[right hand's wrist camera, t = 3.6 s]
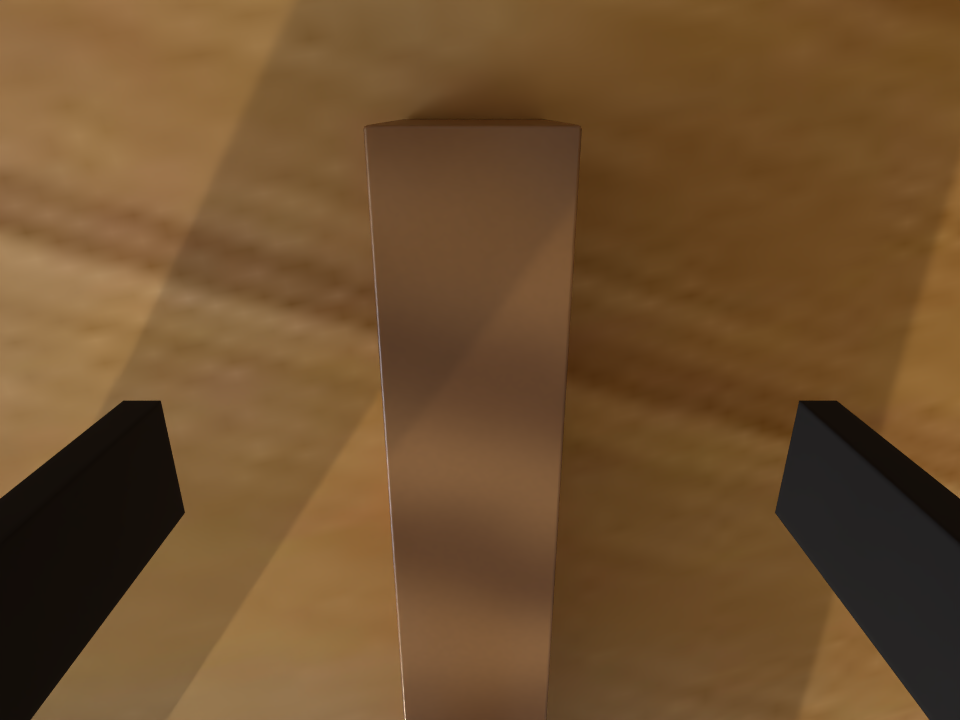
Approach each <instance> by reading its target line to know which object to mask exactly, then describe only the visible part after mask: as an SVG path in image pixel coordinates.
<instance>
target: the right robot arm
mask: <svg viewBox="0 0 960 720" xmlns="http://www.w3.org/2000/svg"><path fill="white" fill-rule="evenodd" d="M184 513H185V511H184V506H183V502H182V497H181V492H180V488H179V483H178V479H177V474H176V469H175V465H174V460H173V455H172V451H171V446H170V441H169V437H168V432H167V428H166V423H165V418H164V414H163V409H162V404H161V401H122V402H121V403H120V404H119V405H117V406H116V407H115V408H114V409H112V410H111V411H110V412H109V413H107V414H106V415H105V416H104V417H102V418H101V419H100V420H99V421H97V422H96V423H95V424H94V425H92V426H91V427H90V428H89V429H87V430H86V431H85V432H83V433H82V434H81V435H80V436H78V437H77V438H76V439H75V440H73V441H72V442H71V443H70V444H68V445H67V446H66V447H65V448H63V449H62V450H61V451H60V452H58V453H57V454H56V455H55V456H53V457H52V458H51V459H50V460H48V461H47V462H46V463H45V464H43V465H42V466H41V467H39V468H38V469H37V470H36V471H34V472H33V473H32V474H31V475H29V476H28V477H27V478H26V479H24V480H23V481H22V482H21V483H19V484H18V485H17V486H16V487H14V488H13V489H12V490H11V491H9V492H8V493H7V494H6V495H4V496H3V497H2V498H1V499H0V720H31V718H32V717H33V716H34V714H35V713H36V712H37V710H38V709H39V708H40V706H41V705H42V704H43V702H44V701H45V700H46V698H47V697H48V696H49V694H50V693H51V692H52V690H53V689H54V688H55V686H56V685H57V684H58V682H59V681H60V680H61V678H62V677H63V676H64V674H65V673H66V671H67V670H68V669H69V667H70V666H71V665H72V663H73V662H74V661H75V659H76V658H77V657H78V655H79V654H80V653H81V651H82V650H83V649H84V647H85V646H86V645H87V643H88V642H89V641H90V639H91V638H92V637H93V635H94V634H95V633H96V631H97V630H98V629H99V627H100V626H101V625H102V623H103V622H104V621H105V619H106V618H107V617H108V615H109V614H110V612H111V611H112V610H113V608H114V607H115V606H116V604H117V603H118V602H119V600H120V599H121V598H122V596H123V595H124V594H125V592H126V591H127V590H128V588H129V587H130V586H131V584H132V583H133V582H134V580H135V579H136V578H137V576H138V575H139V574H140V572H141V571H142V570H143V568H144V567H145V566H146V564H147V563H148V562H149V560H150V559H151V558H152V556H153V555H154V554H155V552H156V551H157V549H158V548H159V547H160V545H161V544H162V543H163V541H164V540H165V539H166V537H167V536H168V535H169V533H170V532H171V531H172V529H173V528H174V527H175V525H176V524H177V523H178V521H179V520H180V519H181V517H182V516H183V515H184ZM775 513H776V515H777V516H778V517H779V519H780V520H781V521H782V523H783V524H784V525H785V527H786V528H787V529H788V531H789V532H790V533H791V535H792V536H793V537H794V539H795V540H796V541H797V543H798V544H799V545H800V547H801V548H802V549H803V551H804V552H805V554H806V555H807V556H808V558H809V559H810V560H811V562H812V563H813V564H814V566H815V567H816V568H817V570H818V571H819V572H820V574H821V575H822V576H823V578H824V579H825V580H826V582H827V583H828V584H829V586H830V587H831V588H832V590H833V591H834V592H835V594H836V595H837V596H838V598H839V599H840V600H841V602H842V603H843V604H844V606H845V607H846V608H847V610H848V611H849V612H850V614H851V615H852V617H853V618H854V619H855V621H856V622H857V623H858V625H859V626H860V627H861V629H862V630H863V631H864V633H865V634H866V635H867V637H868V638H869V639H870V641H871V642H872V643H873V645H874V646H875V647H876V649H877V650H878V651H879V653H880V654H881V655H882V657H883V658H884V659H885V661H886V662H887V663H888V665H889V666H890V667H891V669H892V670H893V671H894V673H895V674H896V676H897V677H898V678H899V680H900V681H901V682H902V684H903V685H904V686H905V688H906V689H907V690H908V692H909V693H910V694H911V696H912V697H913V698H914V700H915V701H916V702H917V704H918V705H919V706H920V708H921V709H922V710H923V712H924V713H925V714H926V716H927V717H928V718H929V720H960V499H959V498H958V497H957V496H956V495H954V494H953V493H952V492H951V491H949V490H948V489H947V488H946V487H944V486H943V485H942V484H941V483H939V482H938V481H937V480H936V479H934V478H933V477H932V476H931V475H929V474H928V473H927V472H926V471H924V470H923V469H922V468H921V467H919V466H918V465H917V464H915V463H914V462H913V461H912V460H910V459H909V458H908V457H907V456H905V455H904V454H903V453H902V452H900V451H899V450H898V449H897V448H895V447H894V446H893V445H892V444H890V443H889V442H888V441H887V440H885V439H884V438H883V437H882V436H880V435H879V434H878V433H877V432H875V431H874V430H873V429H871V428H870V427H869V426H868V425H866V424H865V423H864V422H863V421H861V420H860V419H859V418H858V417H856V416H855V415H854V414H853V413H851V412H850V411H849V410H848V409H846V408H845V407H844V406H843V405H841V404H840V403H839V402H838V401H799V404H798V409H797V414H796V418H795V423H794V428H793V432H792V437H791V441H790V446H789V451H788V455H787V460H786V465H785V469H784V474H783V479H782V483H781V488H780V492H779V497H778V502H777V506H776V511H775Z"/></svg>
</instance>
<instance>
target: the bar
mask: <svg viewBox="0 0 960 720" xmlns="http://www.w3.org/2000/svg"><path fill="white" fill-rule="evenodd" d="M581 132H582V129H581V126H579V125H574V124H568V123H562V122H556V121H550V120H544V119H404V120H397V121H391V122H384V123H378V124H372V125H367V126H365V127H364V141H365V155H366V170H367V184H368V199H369V214H370V228H371V243H372V257H373V272H374V287H375V301H376V316H377V330H378V345H379V359H380V374H381V389H382V403H383V418H384V432H385V447H386V462H387V476H388V491H389V505H390V520H391V534H392V549H393V564H394V578H395V593H396V607H397V622H398V637H399V651H400V666H401V680H402V695H403V709H404V720H546V716H547V699H548V682H549V666H550V649H551V632H552V616H553V599H554V582H555V566H556V549H557V532H558V516H559V499H560V482H561V466H562V449H563V432H564V416H565V399H566V382H567V366H568V349H569V332H570V316H571V299H572V282H573V265H574V249H575V232H576V215H577V199H578V182H579V165H580V149H581Z"/></svg>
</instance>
